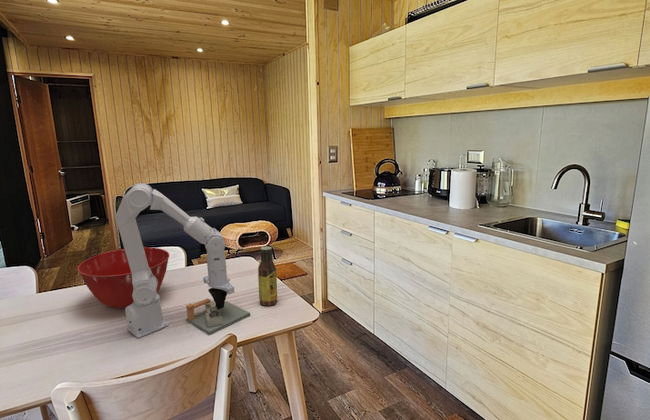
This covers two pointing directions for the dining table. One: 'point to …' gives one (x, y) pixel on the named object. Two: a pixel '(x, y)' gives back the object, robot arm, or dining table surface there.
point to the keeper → (191, 307)
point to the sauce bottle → (267, 278)
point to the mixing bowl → (119, 275)
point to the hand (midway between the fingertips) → (220, 308)
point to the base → (229, 317)
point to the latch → (216, 319)
